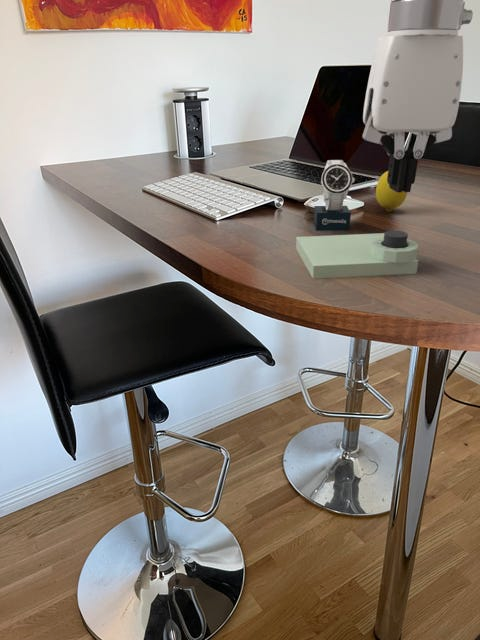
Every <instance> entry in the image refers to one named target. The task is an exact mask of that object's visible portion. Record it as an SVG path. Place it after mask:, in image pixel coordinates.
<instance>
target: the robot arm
mask: <svg viewBox="0 0 480 640" xmlns="http://www.w3.org/2000/svg"><path fill="white" fill-rule="evenodd" d="M465 5H466V2H465V1H464V0H390V5H389V14H388V21H387V30H386V31H387V32H386V35H385V36H378V39H377V42H376V46H375V50H374V54H373V57H372V62H371V67H370V72H369V76H368V81H367V86H366V91H365V98H364V103H363V112H362V122H363V124H364V125H365V127H364V130H363V133H362V139H363V140H364V141H367V142H370V143H374V144H378V145H380V146H381V147H382V148H383V150H384V151H385V152H386V154H387V155H388V156H389V162H388V168H387V169H388V170H387V171H388V176H387V182H388V184H389V187H390V188H391V189H392V190H394V191H395V192H402V191H404V192H407V193H411V190H412V185H414V184H415V182H416V177H417V170H418V163H419V159H421V158H422V157H424V154H425V153H426V151H428V150H429V149H430V148H431V147H432V146H433V145H434V144H439V143H442V142H445V141H449V140H451V139H452V137H453V126H454V125H455V122H456V119H457V116H458V113H459V106H460V100H461V94H462V93H461V92H462V85H463V84H462V83H463V71H464V37H463V36H464V35H459V31H460V30H461V28H462V26H463V25H469V24H470V23H471V22H472V20H473V15H474V13H473V10H472V9H466V8H465ZM383 132H384V133H383ZM405 133H409V136H408V139H407V143H406V146H405Z"/></svg>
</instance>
